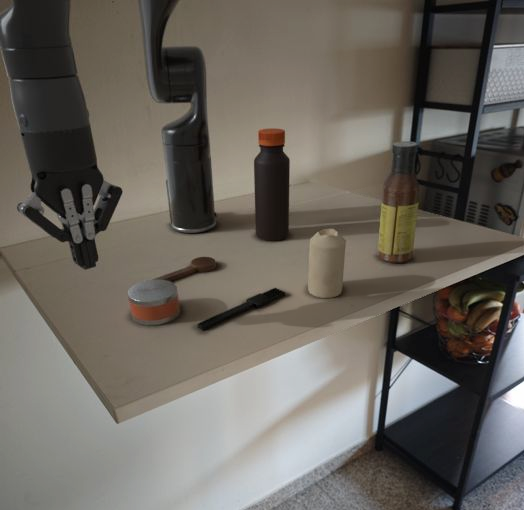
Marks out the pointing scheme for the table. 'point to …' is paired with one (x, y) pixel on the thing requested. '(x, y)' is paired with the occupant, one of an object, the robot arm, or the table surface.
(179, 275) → the spoon
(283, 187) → the vinegar
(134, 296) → the tin can
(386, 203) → the sauce bottle
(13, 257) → the table surface
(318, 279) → the candle
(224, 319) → the fork
